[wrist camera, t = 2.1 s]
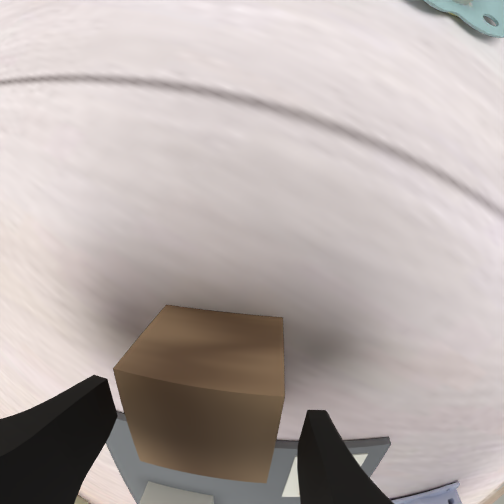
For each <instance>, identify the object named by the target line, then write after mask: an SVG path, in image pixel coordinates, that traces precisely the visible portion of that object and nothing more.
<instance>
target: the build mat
mask: <svg viewBox="0 0 504 504" xmlns="http://www.w3.org/2000/svg"><path fill="white" fill-rule="evenodd" d="M116 412H117V411H116ZM117 415H118V416H117V419H116V422H115V424H114V427H113V429H112V431H111V434H110V436H109V438H108V439H107V441H106V444H107V447H108V449H109V451H110V453H111V456H112V458H113V460H114V462H115V464H116V466H117V468H118V470H119V472H120V474H121V476H122V478H123V480H124V482H125V484H126V485H127V487H128V489H129V491H130V493H131V494H132V496H133V498H134V500H135V501H136V503H137V504H139V503H140V500H141V498H142V496H143V493H144V491H145V488H146V486H147V483H148V481H150V482H153V483H157V484H160V485H164V486H168V487H172V488H176V489H181V490H185V491H190V492H195V493H200V494H206V495H212V496H213V498H214V504H301V502H300V492H299V483H298V473H297V452H298V442H299V441H276V443H275V448H274V452H273V457H272V461H271V466H270V470H269V474H268V479H267V483H254V482H243V481H234V480H226V479H219V478H213V477H207V476H201V475H196V474H191V473H186V472H181V471H177V470H172V469H168V468H164V467H160V466H156V465H153V464H149V463H146V462H142V461H140V459H139V456H138V454H137V451H136V448H135V445H134V442H133V439H132V436H131V433H130V430H129V427H128V423H127V420H126V417H125V414H123V413H120V412H117ZM344 443H345V445H346V446H347V448H348V449H349V451H350V452H351V454H352V455H353V457H354V458H355V460H356V461H357V462H358V464H359V465H360V466H361V468H362V469H363V470H364V472H365V473H366V474H367V475H368V477H369V478H370V476H371V475H372V473H373V472H374V470H375V469H376V467H377V466H378V464H379V463H380V461H381V460H382V458H383V456H384V455H385V453H386V452H387V450H388V448H389V447H390V445H391V442H390V439H389V437H385V438H376V439H365V440H351V441H344Z"/></svg>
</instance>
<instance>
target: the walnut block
mask: <svg viewBox="0 0 504 504" xmlns="http://www.w3.org/2000/svg"><path fill="white" fill-rule="evenodd" d="M113 370H114V375H115V379H116V383H117V387H118V391H119V395H120V399H121V403H122V406H123V410H124V413H125V417H126V420H127V423H128V427H129V430H130V433H131V436H132V439H133V442H134V445H135V448H136V451H137V454H138V456H139V459H140V461H142V462H146V463H149V464H153V465H156V466H160V467H164V468H168V469H172V470H177V471H181V472H186V473H191V474H196V475H201V476H207V477H213V478H219V479H226V480H234V481H243V482H254V483H267V479H268V474H269V470H270V466H271V461H272V457H273V452H274V448H275V443H276V438H277V433H278V429H279V424H280V419H281V414H282V408H283V403H284V398H285V383H284V342H283V318H282V317H270V316H259V315H248V314H238V313H229V312H219V311H211V310H202V309H194V308H187V307H179V306H172V305H166V306H165V307H164V308H163V309H162V310H161V312H160V313H159V314H158V315H157V316H156V318H155V319H154V320H153V321H152V322H151V323H150V325H149V326H148V327H147V328H146V329H145V331H144V332H143V333H142V334H141V335H140V337H139V338H138V339H137V340H136V341H135V343H134V344H133V345H132V346H131V347H130V349H129V350H128V351H127V352H126V353H125V355H124V356H123V357H122V358H121V359H120V361H119V362H118V363H117V364H116V366H115V367H114V368H113Z"/></svg>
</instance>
